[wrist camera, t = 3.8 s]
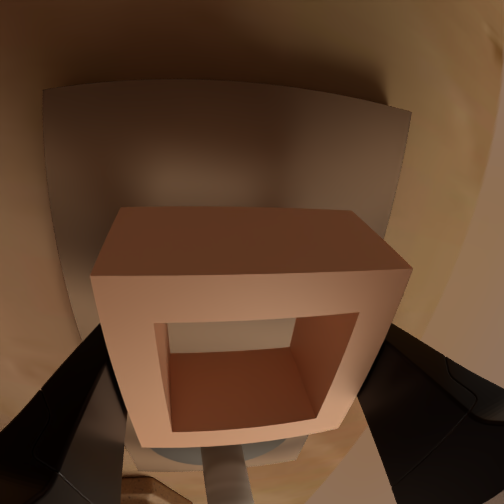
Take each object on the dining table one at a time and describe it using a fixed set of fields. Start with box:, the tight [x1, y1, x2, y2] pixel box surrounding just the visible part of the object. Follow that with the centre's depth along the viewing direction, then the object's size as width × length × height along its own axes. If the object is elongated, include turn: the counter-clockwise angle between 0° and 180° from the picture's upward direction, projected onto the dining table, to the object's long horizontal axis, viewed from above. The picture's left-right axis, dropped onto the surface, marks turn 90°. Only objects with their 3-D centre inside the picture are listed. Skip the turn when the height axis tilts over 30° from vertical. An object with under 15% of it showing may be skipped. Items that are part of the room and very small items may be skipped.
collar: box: [90, 206, 413, 448], centre depth 8 cm, size 6×6×3 cm
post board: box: [43, 79, 412, 504], centre depth 12 cm, size 24×12×8 cm, turn 175°
